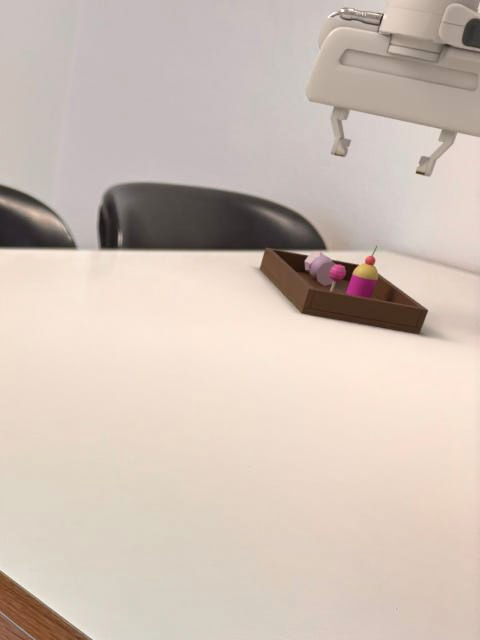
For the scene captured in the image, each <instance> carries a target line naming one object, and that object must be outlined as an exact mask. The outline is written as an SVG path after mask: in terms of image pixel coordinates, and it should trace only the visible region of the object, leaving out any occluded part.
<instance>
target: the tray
mask: <svg viewBox="0 0 480 640" xmlns="http://www.w3.org/2000/svg"><path fill="white" fill-rule="evenodd" d="M309 255H310V254H305V253H304V254H303V253H299V252H293V251H287V250H282V249H276V248H270V247H265V248H264V252H263V254H262V259H261V262H260V266H259V270H260V271H261V272H262V273H263V274H264V275H265V276H266V277H267V278H268V279H269V281H270V282H272V284H274V286H275V287H276V288H277V289H278V290H279V291H280V292H281V293H282V294H283V295H284V296H285V297H286V298H287V299H288V300H289V302H290V303H292V304H293V305H294V307H296V309H297V310H298V311H299V312H300V313H301V314H305V315H310V316H311V315H312V316H316V317H323V318H329V319H332V320H333V319H335V320H340V321H345V322H351V323H355V324H356V323H357V324H362V325H368V326H374V327H378V328H385V329H390V330H396V331H400V332H401V331H403V332H407V333H412V334H420V333H421V331H422V328H423V326H424V323H425V321H426V317H427V315H428V312H429V309H427V308H426V307H425V306H424V305H422V304H421V303H420V302H418V301H417V300H415V299H414V298H413V297H411V296H410V295H409V294H407V293H406V292H404V291H403V290H402V289H400V288H399V287H398V286H396V285H395V284H394V283H392V282H391V281H390V280H388V279H386V277H384V276H383V275H381V274H380V273H378V279H377V282H376V285H375V288H374V291H373V294H372V296H371V298H365V297H360V296H354V295H348V294H347V293H346V292H347V289H348V286H349V283H350V280H351V277H352V274H353V271H354V270H355V268H356V267H357V266H359V265H360V264H359V263H353V262H348V261H347V262H346V261H342V260H336V259H331V260H332V261H333V262H334V263H335V264H336V265H342V266H344V268H345V270H346V275H345V277H344V278H343V279H342V280H340V281H336V283H335V286H334V290H333V292H332V291H330V290H331V287H332V284H330V285H326V286H324V285H322V284H321V283H319V282H318V281H317V280H315V279H314V278H313V277H312V276H311V274H310V273H309V272H307V271H306V270H305V260H306V259H307V257H308V256H309Z"/></svg>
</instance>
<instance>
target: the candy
mask: <svg viewBox="0 0 480 640" xmlns="http://www.w3.org/2000/svg"><path fill="white" fill-rule="evenodd" d="M377 248H378V245H375V248H374V250H373V252H372V254H371V255H368V256H367V257H366V258H365V259H364V263H361V264H359V266H357V267H356V268H355V270H354V271H353V274H352V277H351V280H350V283H349V286H348V289H347V292H346V293H347V294H348V295H354V296H360V297H365V298H371V296H372V294H373V291H374V288H375V285H376V282H377V279H378V274H379V271H378V269H377V267H376V266H375V264H376V258H375V256H374V255H375V253H376V250H377ZM308 255H309V256H308V257H307V259H306V260H305V270H306V271H307V272H309V273H310V274H311V276H312V277H313V278H314V279H315V280H317V281H318V282H319V283H321V284H322V285H324V286H326V285H330V284H332V287H331V290H330V291H332V292H333V290H334V286H335V283H336V281H340V280H342V279H343V278H344V277H345V275H346V270H345V268H344V266H342V265H336V264H335V263H334V262H333V261H332V260H333V259H332V258H331V257H329V256H327V255H326V254H324V253H322V252H321V251H315V252H310V253H309V254H308Z"/></svg>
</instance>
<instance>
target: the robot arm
mask: <svg viewBox="0 0 480 640" xmlns="http://www.w3.org/2000/svg"><path fill="white" fill-rule="evenodd" d="M479 6H480V0H387V2H386V7H385V9H384V12H383V13H381V12H376V11H370V10H359V9H356V8H353V7H342V8H341V9H340V10H336V11H333V12H332V13H330V14H329V15H328V16H327V17H326V18H325V20H324V21H323V24H322V27H321V31H320V34H319V37H318V47H319V51H318V53H317V55H316V57H315V60H314V63H313V65H312V67H311V70H310V73H309V75H308V78H307V81H306V84H305V88H304V89H305V90H304V92H305V95H306V97H307V100H308V101H309V102H312V103H316V104H322V105H325V106H330V107H333V108H332V111H331V114H330V123H331V127H332V133H333V137H334V141H333V144H332V147H331V149H330V155H332V156H335V157H340V158H346V157H347V155H348V152H349V149H348V148H350V146H351V142H352V139H349V138H346V137H345V131H344V126H343V121H347V120H348V118H349V114H350V112H351V111H354V112H359V113H362V114H368V115H373V116H377V117H382V118H387V119H392V120H397V121H401V122H405V123H409V124H410V123H411V124H415V125H419V126H423V127H428V128H434V129H437V130H441V131H440V133H439V137H438V139H437V141H438V142H440V143H441V145H439V146H438V147H437V148H436V150H434V151H433V152H432V154H431V155H429V156H426V155H422V156H420V159H419V161H418V166H417V167H416V170H415V175H420V176H424V177H428V178H430V177H431V176H432V174H433V172H434V169H435V166H436V164H437V163H436V162H437V161H438V159H440V158H441V157H442V156H443V155H444V154H445V153H446V152H447V151H448V150H449V149H450V148H451V147H452V146H453V145H454V144H455V141H456V138H457V135H458V134H462V135H467V136H472V137H475V138H480V13H479ZM336 16H339V18H338V17H336Z"/></svg>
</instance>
